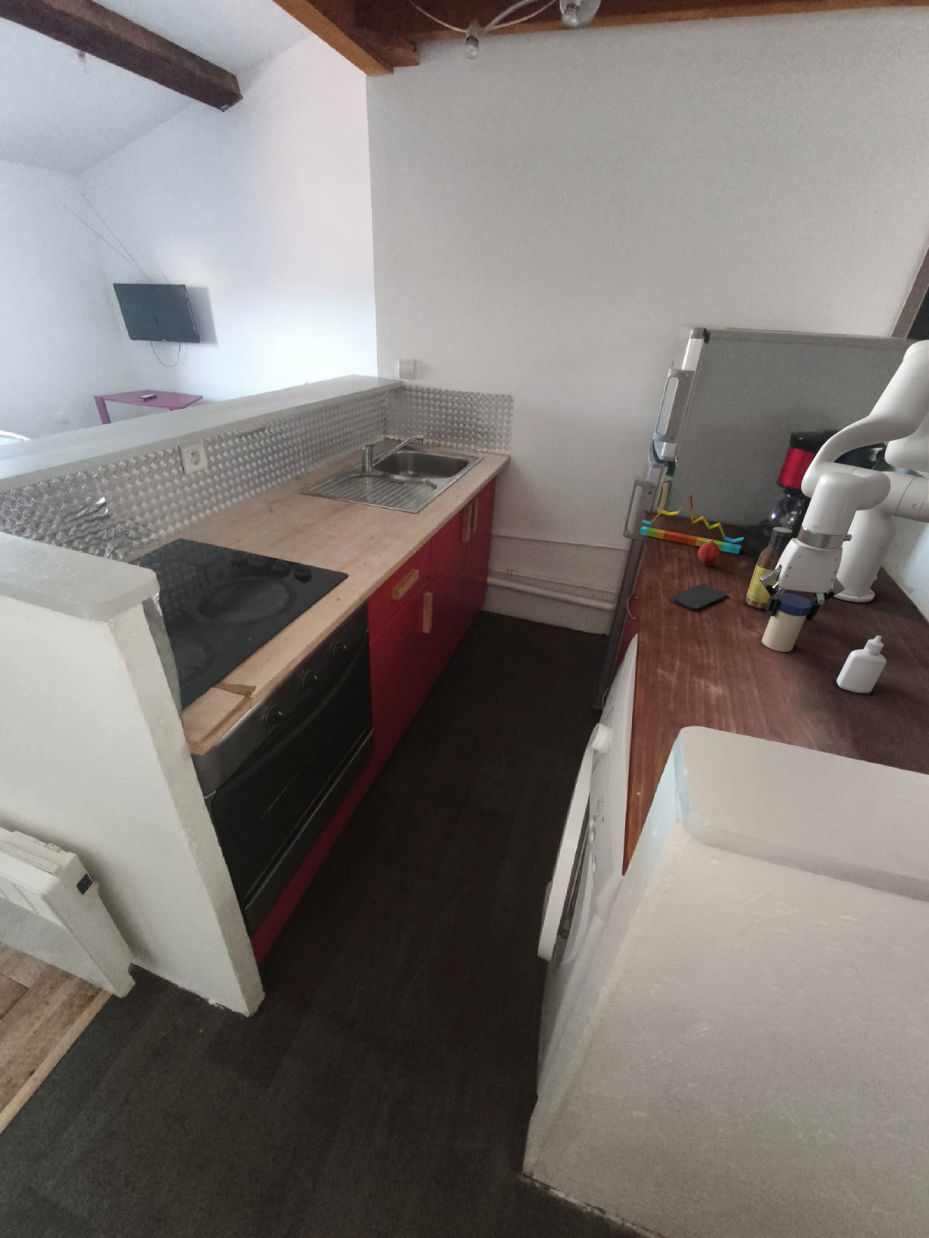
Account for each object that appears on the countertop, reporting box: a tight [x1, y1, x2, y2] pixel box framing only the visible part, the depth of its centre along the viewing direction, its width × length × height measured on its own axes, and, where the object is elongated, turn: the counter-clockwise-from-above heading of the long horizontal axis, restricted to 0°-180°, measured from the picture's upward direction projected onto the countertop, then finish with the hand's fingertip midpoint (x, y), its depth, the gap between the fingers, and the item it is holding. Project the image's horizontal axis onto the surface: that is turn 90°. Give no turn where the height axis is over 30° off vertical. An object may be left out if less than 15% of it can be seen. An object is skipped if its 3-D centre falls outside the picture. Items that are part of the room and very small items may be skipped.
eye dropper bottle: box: [836, 635, 887, 694], centre depth 97 cm, size 4×6×12 cm
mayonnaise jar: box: [761, 609, 807, 653], centre depth 111 cm, size 6×6×11 cm
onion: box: [697, 539, 721, 566], centre depth 148 cm, size 6×6×8 cm
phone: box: [671, 583, 728, 611], centre depth 131 cm, size 7×1×15 cm
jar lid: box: [778, 592, 813, 616], centre depth 108 cm, size 7×7×2 cm
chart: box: [638, 494, 745, 555], centre depth 161 cm, size 30×3×15 cm, turn 60°
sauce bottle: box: [745, 526, 793, 610], centre depth 124 cm, size 7×6×20 cm
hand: (788, 614), depth 110 cm, fingers closed on jar lid, 6 cm apart
